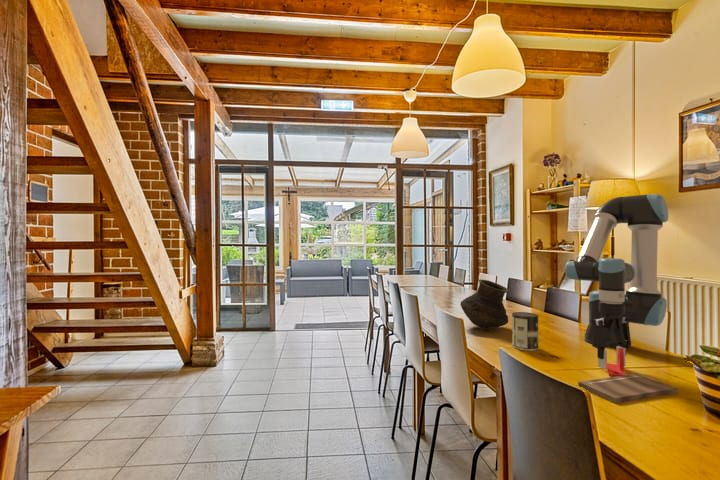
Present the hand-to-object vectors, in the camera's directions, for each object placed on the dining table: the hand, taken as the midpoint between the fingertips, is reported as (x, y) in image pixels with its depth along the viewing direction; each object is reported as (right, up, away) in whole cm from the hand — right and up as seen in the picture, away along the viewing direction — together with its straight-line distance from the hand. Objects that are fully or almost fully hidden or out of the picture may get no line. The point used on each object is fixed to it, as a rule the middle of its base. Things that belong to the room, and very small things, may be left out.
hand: (611, 366), depth 127 cm
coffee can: (-19, -1, +26) cm, 32 cm away
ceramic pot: (-25, -1, +60) cm, 64 cm away
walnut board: (-8, -1, -18) cm, 20 cm away
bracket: (-1, -1, -3) cm, 4 cm away
